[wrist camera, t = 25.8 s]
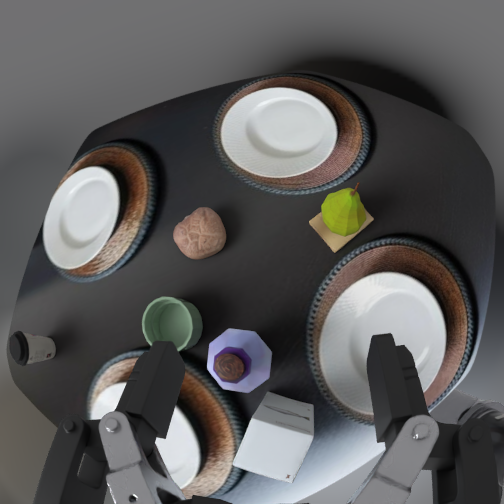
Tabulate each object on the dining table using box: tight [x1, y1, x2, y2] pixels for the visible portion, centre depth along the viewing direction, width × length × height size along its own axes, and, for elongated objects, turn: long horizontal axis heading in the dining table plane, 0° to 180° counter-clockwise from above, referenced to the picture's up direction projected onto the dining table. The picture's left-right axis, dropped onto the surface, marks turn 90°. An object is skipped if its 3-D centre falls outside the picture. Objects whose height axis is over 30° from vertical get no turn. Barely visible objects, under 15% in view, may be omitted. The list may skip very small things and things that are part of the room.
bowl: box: [142, 297, 203, 352], centre depth 41 cm, size 8×8×4 cm
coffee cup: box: [10, 331, 56, 366], centre depth 43 cm, size 7×7×10 cm
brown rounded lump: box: [173, 207, 226, 259], centre depth 44 cm, size 8×6×8 cm
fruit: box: [321, 182, 366, 237], centre depth 36 cm, size 6×6×12 cm
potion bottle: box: [207, 328, 272, 393], centre depth 35 cm, size 9×9×12 cm
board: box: [309, 210, 374, 253], centre depth 42 cm, size 6×8×1 cm
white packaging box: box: [233, 392, 314, 483], centre depth 31 cm, size 7×7×13 cm
